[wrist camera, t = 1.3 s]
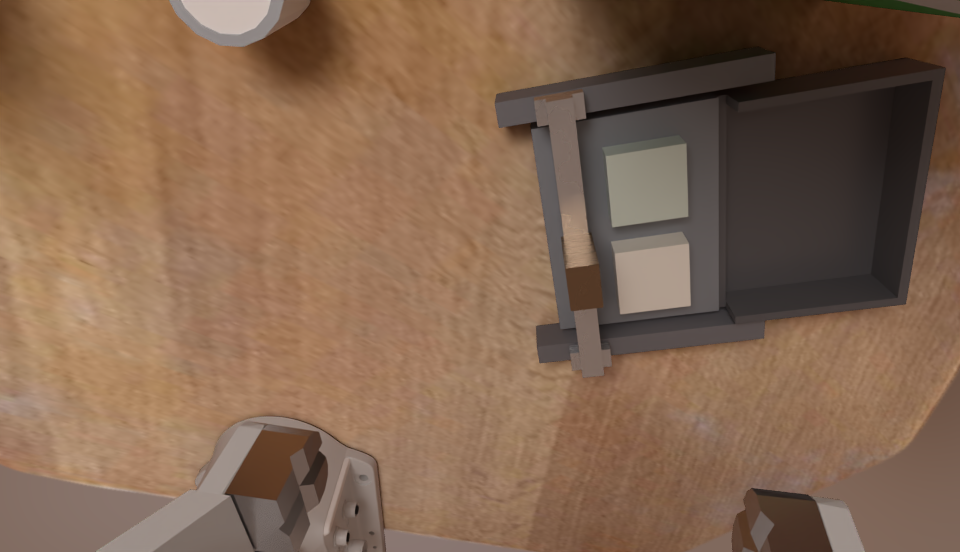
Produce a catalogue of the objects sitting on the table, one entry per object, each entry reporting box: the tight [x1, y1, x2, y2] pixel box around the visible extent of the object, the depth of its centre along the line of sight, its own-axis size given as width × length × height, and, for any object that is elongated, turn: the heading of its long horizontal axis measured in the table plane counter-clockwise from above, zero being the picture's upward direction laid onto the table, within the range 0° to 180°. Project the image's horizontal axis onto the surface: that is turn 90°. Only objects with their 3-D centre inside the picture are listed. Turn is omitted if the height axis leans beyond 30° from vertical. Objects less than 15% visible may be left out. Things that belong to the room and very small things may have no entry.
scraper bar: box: [534, 89, 612, 378], centre depth 39 cm, size 21×3×8 cm, turn 11°
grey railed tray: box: [495, 47, 776, 363], centre depth 42 cm, size 21×17×3 cm
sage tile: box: [602, 135, 688, 227], centre depth 39 cm, size 5×5×2 cm
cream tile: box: [611, 232, 691, 314], centre depth 42 cm, size 5×5×2 cm
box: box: [711, 58, 946, 324], centre depth 40 cm, size 16×12×4 cm
